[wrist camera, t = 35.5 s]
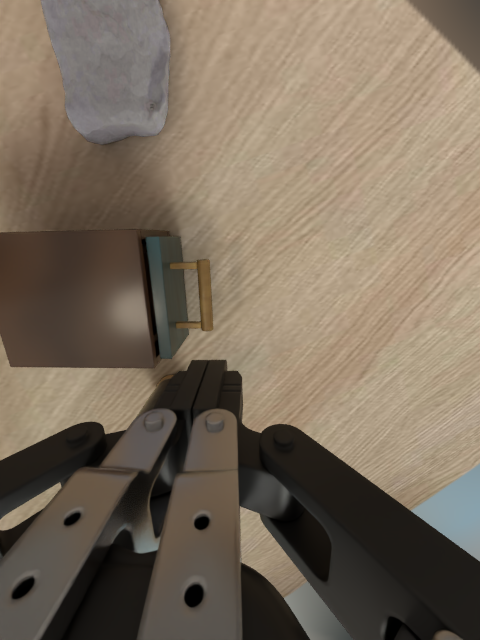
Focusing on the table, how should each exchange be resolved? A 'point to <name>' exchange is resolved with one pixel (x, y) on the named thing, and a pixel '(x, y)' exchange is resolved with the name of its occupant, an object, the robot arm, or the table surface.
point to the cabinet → (76, 299)
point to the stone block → (111, 65)
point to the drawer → (173, 293)
